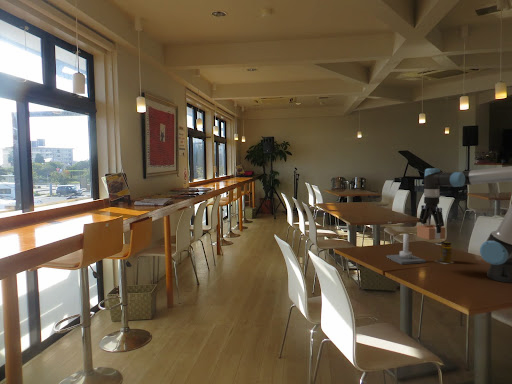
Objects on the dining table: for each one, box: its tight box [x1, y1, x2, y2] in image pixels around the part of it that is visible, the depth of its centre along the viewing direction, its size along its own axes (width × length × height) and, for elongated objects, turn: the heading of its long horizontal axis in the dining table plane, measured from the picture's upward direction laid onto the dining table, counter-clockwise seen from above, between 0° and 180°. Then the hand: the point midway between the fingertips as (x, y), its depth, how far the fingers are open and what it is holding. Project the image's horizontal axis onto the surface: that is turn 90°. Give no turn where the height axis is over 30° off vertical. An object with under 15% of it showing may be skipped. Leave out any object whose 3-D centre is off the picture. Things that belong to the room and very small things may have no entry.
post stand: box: [385, 233, 427, 265], centre depth 227 cm, size 16×16×16 cm
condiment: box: [435, 240, 455, 265], centre depth 223 cm, size 7×8×12 cm
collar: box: [416, 224, 446, 241], centre depth 205 cm, size 10×10×6 cm
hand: (430, 237), depth 205 cm, fingers closed on collar, 10 cm apart
